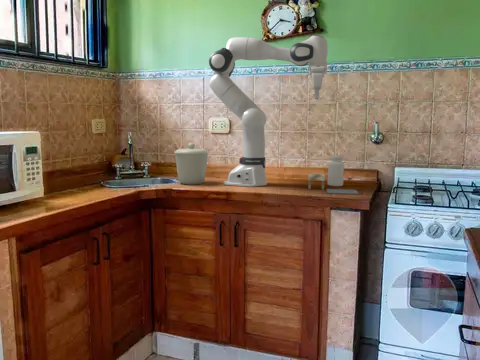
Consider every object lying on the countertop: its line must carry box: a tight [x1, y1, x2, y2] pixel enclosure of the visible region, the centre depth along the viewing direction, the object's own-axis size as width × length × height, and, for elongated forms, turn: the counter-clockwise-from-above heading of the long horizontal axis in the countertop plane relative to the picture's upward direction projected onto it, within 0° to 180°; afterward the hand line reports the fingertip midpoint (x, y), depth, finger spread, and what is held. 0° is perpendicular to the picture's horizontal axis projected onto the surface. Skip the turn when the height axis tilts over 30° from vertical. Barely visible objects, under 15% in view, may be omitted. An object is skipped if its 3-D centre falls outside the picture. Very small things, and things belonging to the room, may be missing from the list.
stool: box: [307, 173, 326, 191], centre depth 225 cm, size 8×5×7 cm, turn 81°
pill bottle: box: [327, 155, 345, 187], centre depth 237 cm, size 8×8×15 cm
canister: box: [173, 142, 210, 186], centre depth 238 cm, size 18×18×21 cm
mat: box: [326, 188, 359, 195], centre depth 216 cm, size 14×12×1 cm
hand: (316, 98), depth 226 cm, fingers open, 8 cm apart
